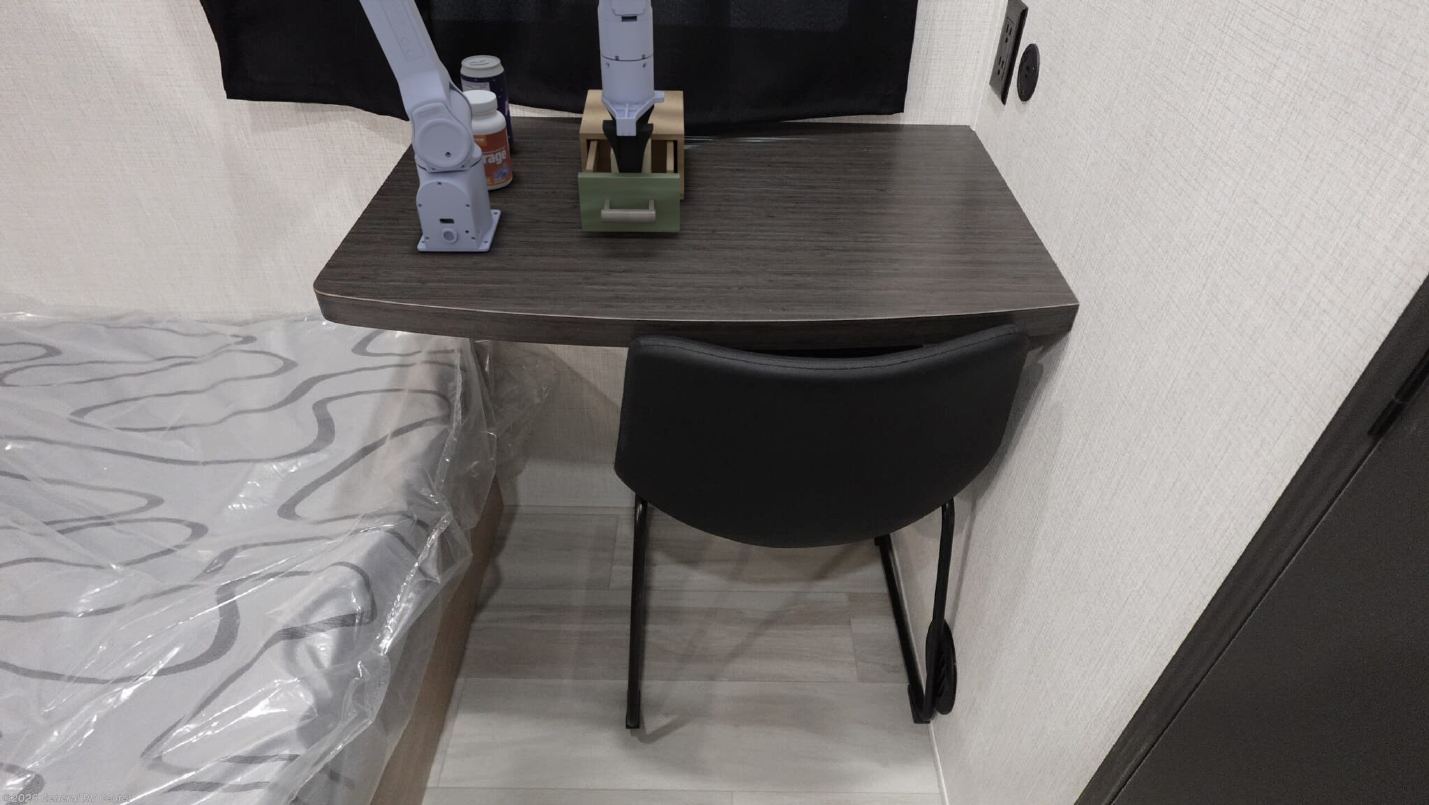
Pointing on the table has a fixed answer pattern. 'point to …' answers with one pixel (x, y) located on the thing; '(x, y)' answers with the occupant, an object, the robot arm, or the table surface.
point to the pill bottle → (491, 138)
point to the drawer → (630, 192)
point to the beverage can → (488, 83)
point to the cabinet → (663, 117)
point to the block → (646, 160)
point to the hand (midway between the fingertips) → (631, 171)
